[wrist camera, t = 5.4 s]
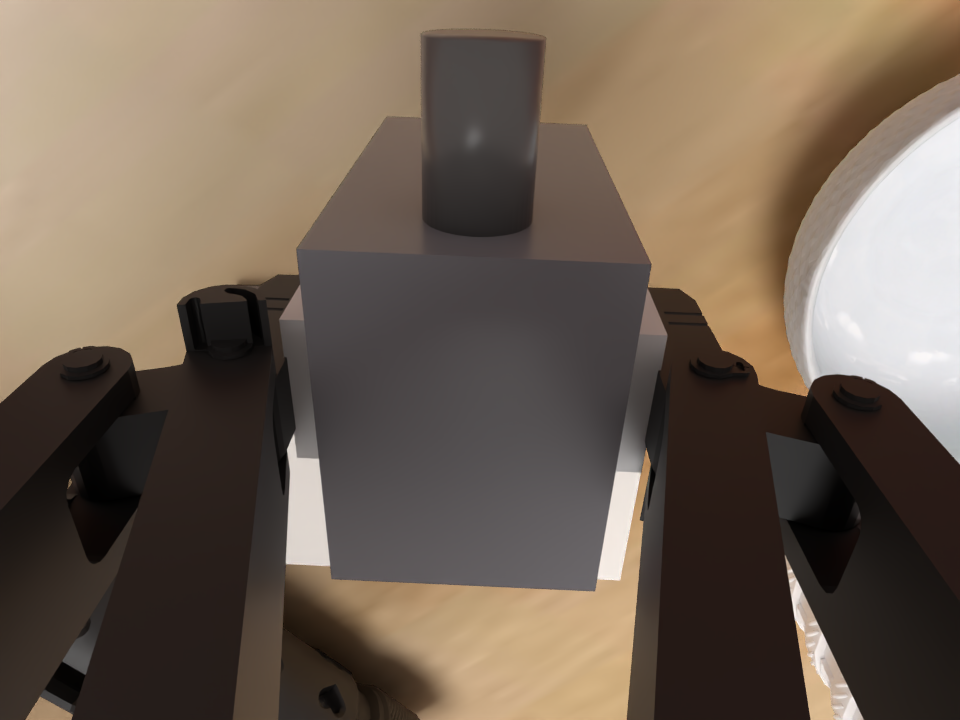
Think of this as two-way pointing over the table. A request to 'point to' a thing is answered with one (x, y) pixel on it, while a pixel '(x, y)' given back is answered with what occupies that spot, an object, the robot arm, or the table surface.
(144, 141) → the table surface
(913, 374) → the cereal bowl
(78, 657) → the muzzle brake
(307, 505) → the socket plate
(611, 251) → the plug
